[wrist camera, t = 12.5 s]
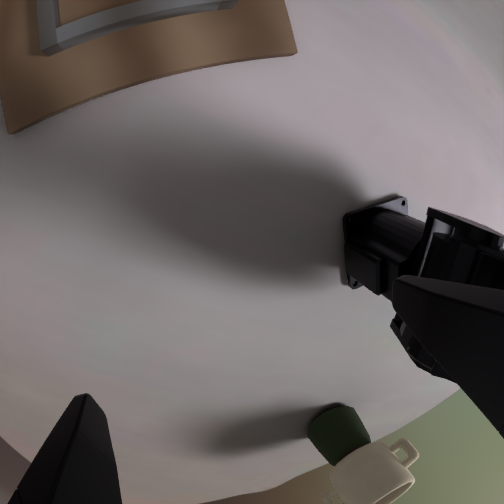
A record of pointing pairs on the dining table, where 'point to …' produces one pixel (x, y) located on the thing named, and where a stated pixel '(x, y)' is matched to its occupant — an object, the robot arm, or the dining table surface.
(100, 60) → the board
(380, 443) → the cream and green trophy
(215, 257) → the dining table surface
